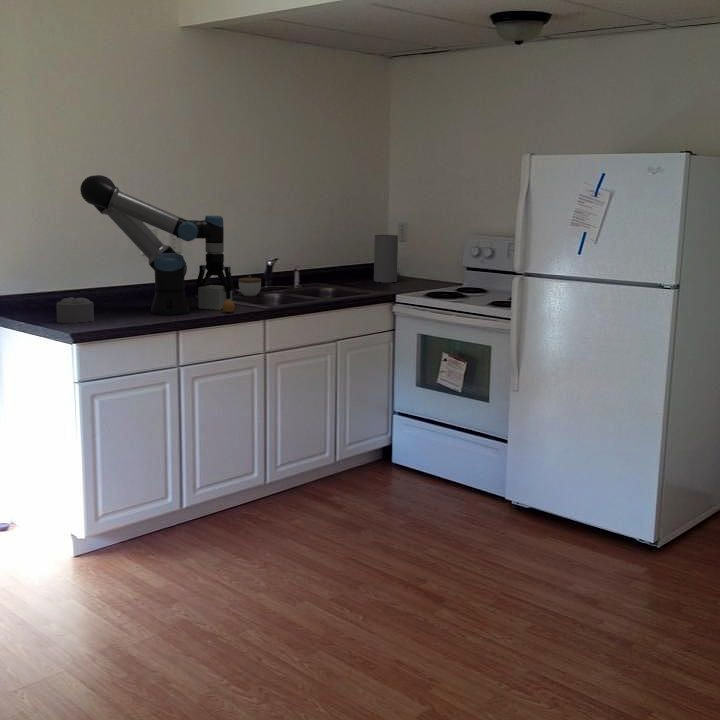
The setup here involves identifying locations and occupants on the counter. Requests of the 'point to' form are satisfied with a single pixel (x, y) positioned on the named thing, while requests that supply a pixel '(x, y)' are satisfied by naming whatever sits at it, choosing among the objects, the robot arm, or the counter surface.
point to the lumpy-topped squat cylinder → (74, 310)
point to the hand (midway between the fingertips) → (215, 305)
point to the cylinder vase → (385, 258)
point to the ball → (228, 306)
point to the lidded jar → (249, 286)
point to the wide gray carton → (211, 297)
